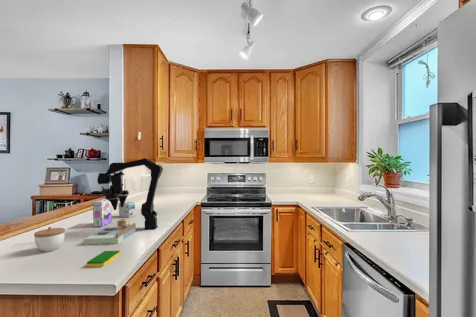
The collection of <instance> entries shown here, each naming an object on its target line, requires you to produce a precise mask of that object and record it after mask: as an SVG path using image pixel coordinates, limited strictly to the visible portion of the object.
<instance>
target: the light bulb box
mask: <svg viewBox="0 0 476 317" xmlns="http://www.w3.org/2000/svg"><path fill="white" fill-rule="evenodd" d="M136 213H137V212H136V202H135V201H125V203H124V206H123V207H121V205H120V202H118V217H119V218H127V217H128V218H127V219H130V218H133V217H136V216H137V215H136Z"/></svg>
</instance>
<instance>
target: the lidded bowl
mask: <svg viewBox="0 0 476 317" xmlns="http://www.w3.org/2000/svg"><path fill="white" fill-rule="evenodd" d="M65 233H66V230H65V228H64V227H53V228H52V227H51V226H48V227H47V228H46V229H45V228H44V229H41V230H38V231H36V232H34V234H33V236H34V242H35V243H34V244H35V246H36V247H37V248H38V249H39V250H40V251H41V252H42V253H45V252H46V253H48V252H55V251H57V250H59V249H60V247H61V246H62V245H63V243H64V242H65V236H66V234H65Z"/></svg>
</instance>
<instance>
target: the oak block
mask: <svg viewBox="0 0 476 317" xmlns="http://www.w3.org/2000/svg"><path fill="white" fill-rule="evenodd" d="M130 220H131V219H130V218H121V219H118V220H117V221H116V222H117V226H116V227H118V230H123V229H125V228H127V227H128V226H130V225H131V223H130Z"/></svg>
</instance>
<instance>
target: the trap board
mask: <svg viewBox="0 0 476 317" xmlns="http://www.w3.org/2000/svg"><path fill="white" fill-rule="evenodd" d="M136 230H137V229H136V222H135V223H134V222H133V223H132V224H130V226H128V227H127V228H125V229H123V230H118V227H117V226H116V227H115V226H114V227H104V228H103V229H100V230H98V231H96V232H94V233H92V234H90V235H88V236H87V237H85V238H83V245H85V246H87V245H88V246H89V245H90V246H91V245H117V244H120V243H122V242H123V241H124V240H126V239H127V238H130V237H131V236H132V235H133V234H134V233H136Z"/></svg>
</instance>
